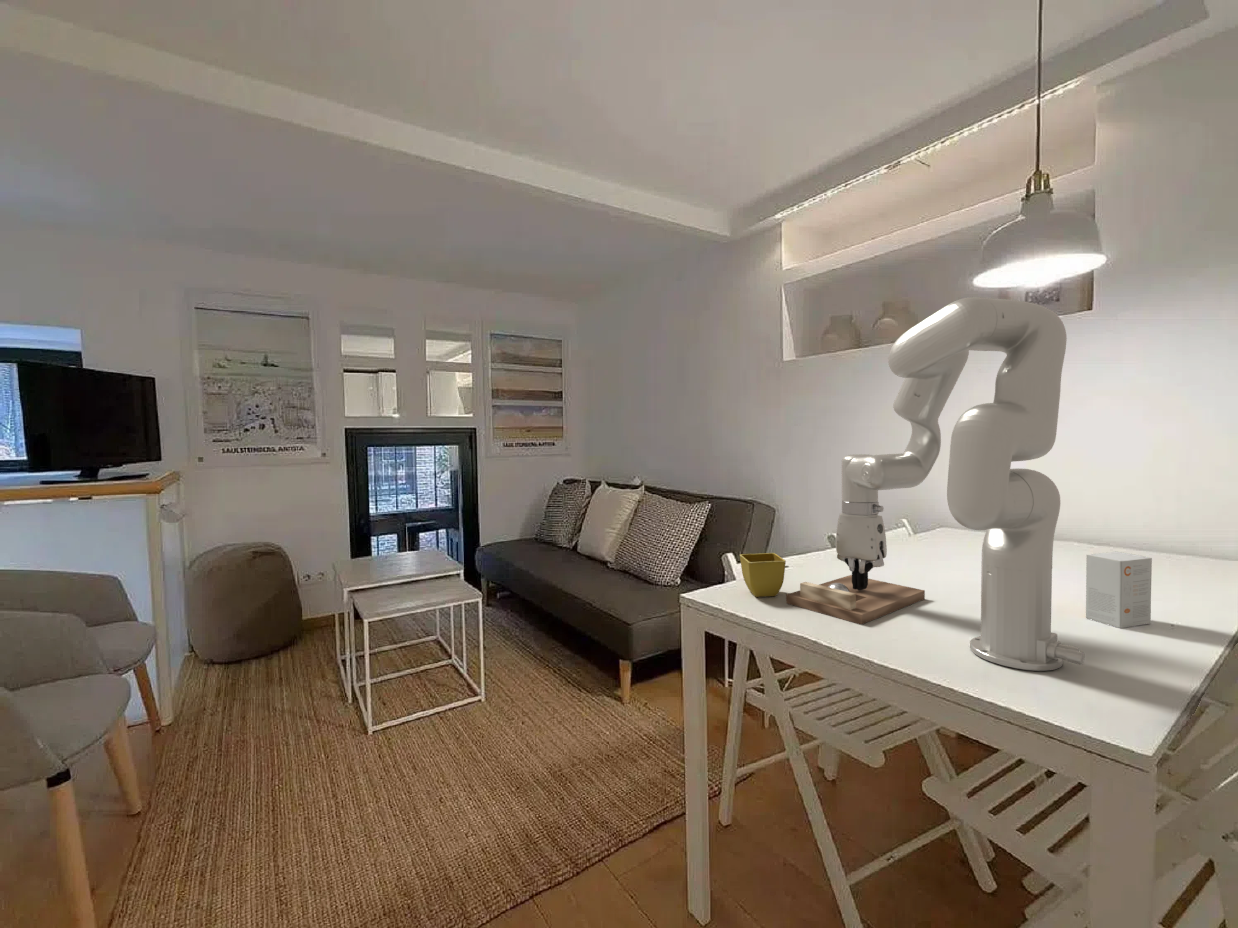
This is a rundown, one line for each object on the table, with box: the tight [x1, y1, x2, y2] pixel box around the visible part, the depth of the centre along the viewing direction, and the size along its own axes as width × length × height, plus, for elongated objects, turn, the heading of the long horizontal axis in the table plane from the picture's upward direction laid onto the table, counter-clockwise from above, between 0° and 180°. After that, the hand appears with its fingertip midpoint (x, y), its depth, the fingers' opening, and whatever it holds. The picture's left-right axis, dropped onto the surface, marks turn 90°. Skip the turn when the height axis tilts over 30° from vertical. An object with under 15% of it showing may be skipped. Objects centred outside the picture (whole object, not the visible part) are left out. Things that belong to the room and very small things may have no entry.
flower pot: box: [739, 552, 787, 598], centre depth 129 cm, size 9×9×9 cm
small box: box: [1085, 551, 1153, 629], centre depth 105 cm, size 8×6×13 cm
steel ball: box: [828, 583, 849, 592], centre depth 119 cm, size 5×5×5 cm
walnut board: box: [785, 574, 926, 625], centre depth 122 cm, size 18×26×5 cm
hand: (859, 588), depth 123 cm, fingers closed
